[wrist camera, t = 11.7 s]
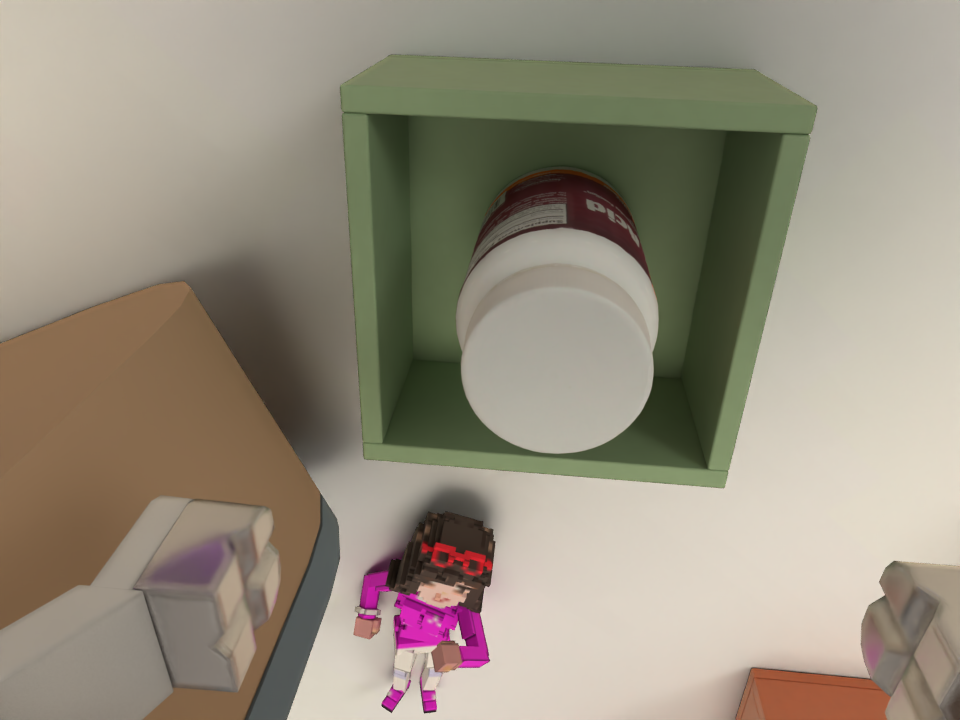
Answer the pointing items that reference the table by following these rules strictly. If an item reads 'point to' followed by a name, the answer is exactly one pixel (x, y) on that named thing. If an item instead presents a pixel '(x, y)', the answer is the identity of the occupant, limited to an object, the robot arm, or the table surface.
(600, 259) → the pill bottle
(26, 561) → the alarm clock
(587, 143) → the sage bin
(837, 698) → the terracotta bin
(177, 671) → the robot arm
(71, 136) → the table surface
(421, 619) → the character figurine
